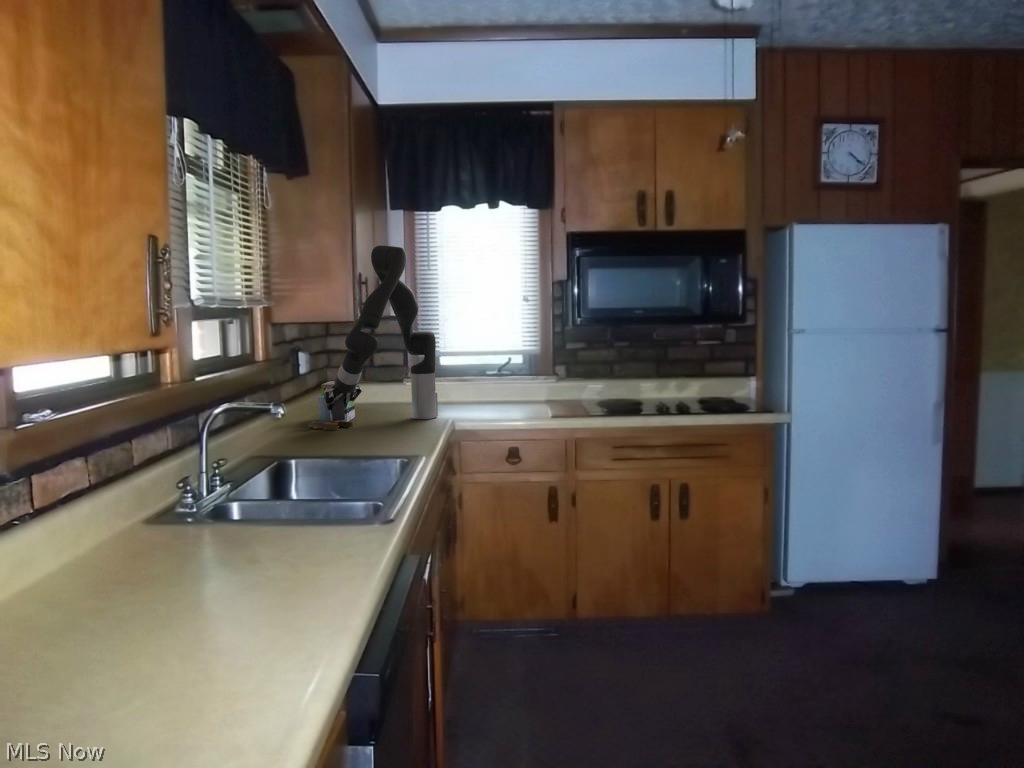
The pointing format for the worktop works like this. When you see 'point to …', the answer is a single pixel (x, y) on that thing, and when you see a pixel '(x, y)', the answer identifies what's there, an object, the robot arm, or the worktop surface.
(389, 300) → the robot arm
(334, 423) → the rack
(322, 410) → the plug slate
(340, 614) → the worktop surface
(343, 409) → the dark grey cylinder
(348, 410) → the tea box
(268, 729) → the worktop surface
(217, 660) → the worktop surface
